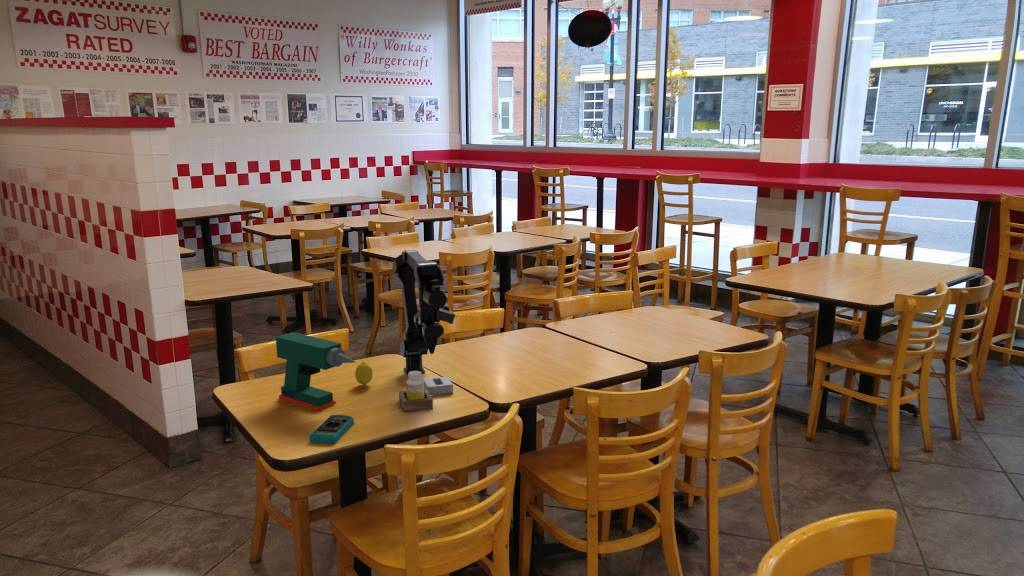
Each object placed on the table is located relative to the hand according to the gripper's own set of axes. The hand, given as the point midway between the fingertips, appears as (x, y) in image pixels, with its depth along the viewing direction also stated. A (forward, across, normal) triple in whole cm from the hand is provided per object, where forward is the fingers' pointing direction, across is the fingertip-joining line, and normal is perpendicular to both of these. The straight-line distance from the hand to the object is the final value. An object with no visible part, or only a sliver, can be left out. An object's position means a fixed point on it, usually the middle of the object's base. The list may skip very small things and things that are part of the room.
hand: (429, 349), depth 230 cm
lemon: (+13, +9, +20) cm, 26 cm away
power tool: (+13, -5, +34) cm, 37 cm away
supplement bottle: (+13, -13, +7) cm, 19 cm away
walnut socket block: (+13, -13, +7) cm, 20 cm away
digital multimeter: (+14, -26, +32) cm, 44 cm away
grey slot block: (+13, -3, -2) cm, 13 cm away
